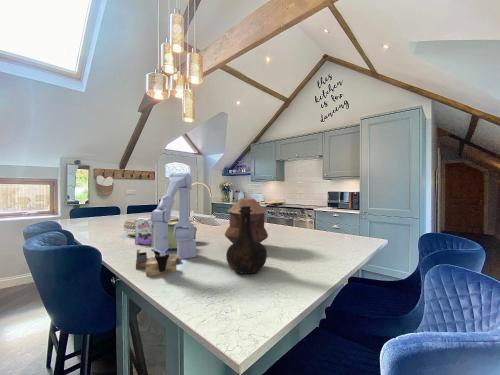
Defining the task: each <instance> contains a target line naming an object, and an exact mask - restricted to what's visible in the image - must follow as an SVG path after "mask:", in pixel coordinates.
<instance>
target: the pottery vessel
mask: <svg viewBox="0 0 500 375" xmlns="http://www.w3.org/2000/svg"><path fill="white" fill-rule="evenodd" d="M242 206H250V207H251V208H250V210H252V212H250V217H251V229H252V235H253V239H254V241H255V242H258V243H261V244H262V242H263V241H265V240H267V239H268V237H269V234H268V231H267V230H266V228H265V213H267V209H265V208H264V207H263V206H262V205H261V204H260V203H259V202H258V201H257V200H256V199H254V198H251V197H241V198H239V199H238V200H237V201H236V202H235V203H234V204H233V205H232V206H231V207H230V208H229V209H228V210H227V213H229V221H228V222H229V226H228V227H227V228H226V230H225V232H224V236H225V238H226V239H227V240H229V241H230V242H231V243H232V244H234V243H235V242H236V241H237V239H238V235H239V228H240V212H238V211H240V210H241V209H240V207H242Z"/></svg>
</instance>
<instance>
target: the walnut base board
mask: <svg viewBox="0 0 500 375" xmlns="http://www.w3.org/2000/svg"><path fill="white" fill-rule="evenodd" d="M174 258H175V259H176V264H180V259H179V256H178V255H177V253H175V254H169V258H168V259H174ZM151 261H157V260H156V258H155V256H152V257H147V262H151ZM140 269H146V262H143V263H137V258H136V259H135V270H140Z"/></svg>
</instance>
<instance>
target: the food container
mask: <svg viewBox="0 0 500 375" xmlns="http://www.w3.org/2000/svg"><path fill="white" fill-rule="evenodd" d="M194 230H195V235H194V238H193V239H195V240H196V239H197V236H196V235H197V231H198V229H197V226H195V225H194Z"/></svg>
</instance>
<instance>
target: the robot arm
mask: <svg viewBox="0 0 500 375" xmlns="http://www.w3.org/2000/svg"><path fill="white" fill-rule="evenodd" d="M168 184H169V185H168V188H167V189H166V190H167V191H166V194H165V195H163V196H161V199H160V201H159V203H158V204H157V207H156V209H154V210H152V212H151V213H150V218H151V221H152V226H153V227H154V248H152V247H151V248H150V251H152V250H154V251H153V253H154V257H155V258H156V260H157V263H158V268H159V272H164V271H165V268H166V263H167V260H168V258H169V255H170V254H168V253H167V252H168V251H167V250H168V249H169V247H168V222H170V220H171V217H172V216H171V215H172V208H173V206H174V203H175V196H176V194H177V192H178V194H179V196H178V197H179V199H178V201H179V203H178V221H177V222H178V223H177V224H176V225H175V227H174V232H173V235H174V238H175V239H176V240H177V251H176V254H177V255H178V256H179V260H184V259H190V258H197V242H196V239H193V238H194V235H195V230H194V226H195V225H194V224H193V222H191V221H190V219H189V218H190V217H189V216H190V190H192V186H193V179H192V176H191V174H190V173H189V172H186V173H174V172H173V173H170V174H169V177H168ZM166 253H167V254H166Z"/></svg>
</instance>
